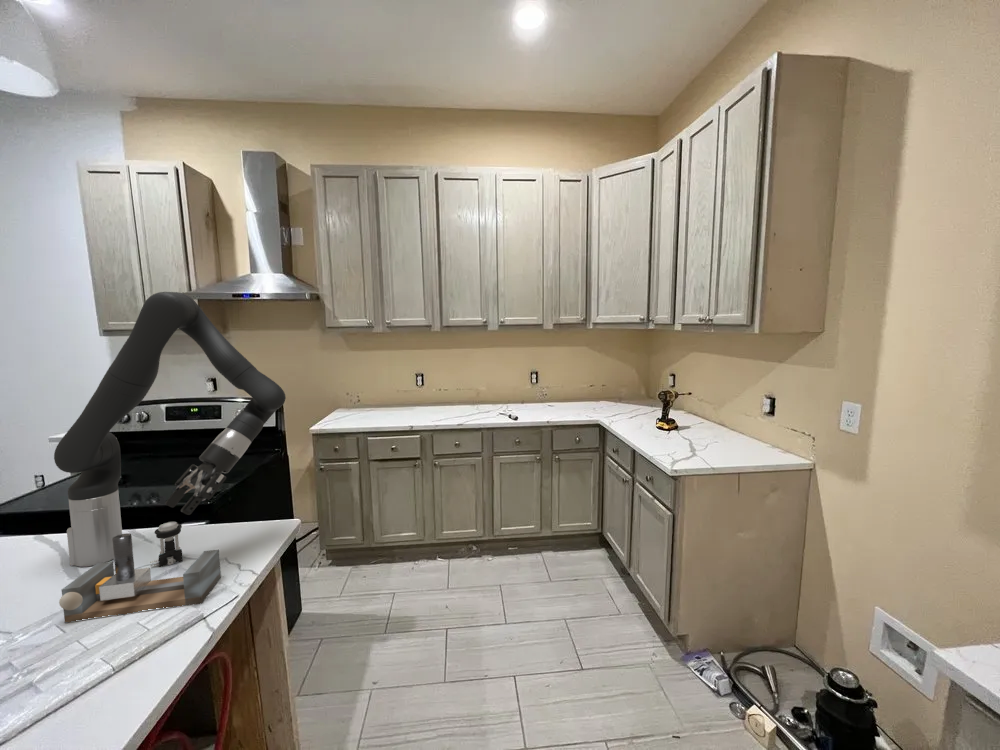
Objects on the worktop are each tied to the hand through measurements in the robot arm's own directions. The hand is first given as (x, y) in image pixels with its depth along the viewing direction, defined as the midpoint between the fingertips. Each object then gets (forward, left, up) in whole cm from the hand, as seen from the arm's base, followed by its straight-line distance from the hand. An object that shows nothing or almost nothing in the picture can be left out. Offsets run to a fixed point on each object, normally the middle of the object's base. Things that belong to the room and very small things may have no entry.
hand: (176, 509), depth 97 cm
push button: (-7, +9, -17) cm, 21 cm away
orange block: (-11, -7, -14) cm, 19 cm away
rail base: (-3, -7, -17) cm, 19 cm away
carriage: (-7, -7, -14) cm, 17 cm away
